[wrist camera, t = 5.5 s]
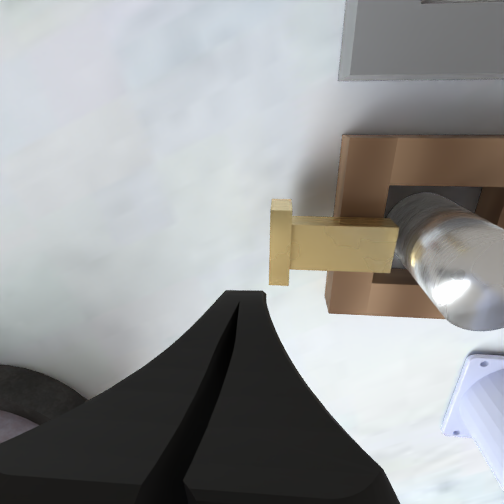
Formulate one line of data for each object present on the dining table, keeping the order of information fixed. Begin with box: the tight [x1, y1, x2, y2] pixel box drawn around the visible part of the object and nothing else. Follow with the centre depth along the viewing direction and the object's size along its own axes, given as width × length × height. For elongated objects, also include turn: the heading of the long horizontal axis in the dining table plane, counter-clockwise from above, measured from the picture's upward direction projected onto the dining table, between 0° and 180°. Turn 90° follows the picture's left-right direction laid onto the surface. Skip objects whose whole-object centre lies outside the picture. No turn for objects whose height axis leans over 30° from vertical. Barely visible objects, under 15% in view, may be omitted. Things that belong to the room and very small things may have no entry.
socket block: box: [325, 135, 504, 319], centre depth 17 cm, size 10×10×2 cm
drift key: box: [269, 199, 399, 286], centre depth 16 cm, size 6×4×2 cm, turn 90°
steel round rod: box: [387, 192, 504, 331], centre depth 15 cm, size 4×4×7 cm
